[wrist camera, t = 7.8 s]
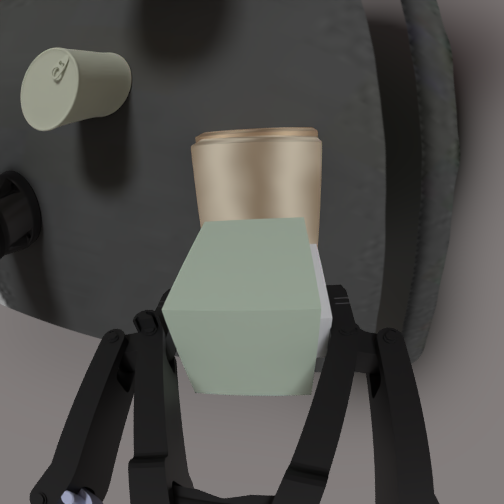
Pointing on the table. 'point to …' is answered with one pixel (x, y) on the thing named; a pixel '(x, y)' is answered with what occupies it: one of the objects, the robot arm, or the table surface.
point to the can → (73, 87)
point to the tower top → (259, 179)
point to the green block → (247, 309)
